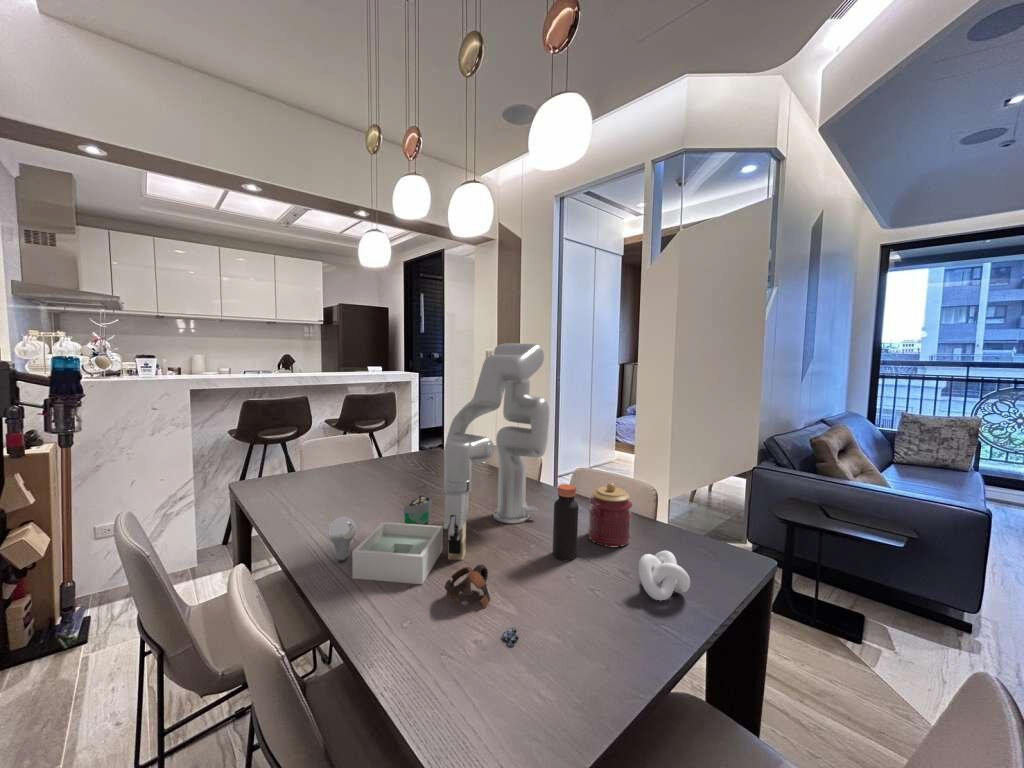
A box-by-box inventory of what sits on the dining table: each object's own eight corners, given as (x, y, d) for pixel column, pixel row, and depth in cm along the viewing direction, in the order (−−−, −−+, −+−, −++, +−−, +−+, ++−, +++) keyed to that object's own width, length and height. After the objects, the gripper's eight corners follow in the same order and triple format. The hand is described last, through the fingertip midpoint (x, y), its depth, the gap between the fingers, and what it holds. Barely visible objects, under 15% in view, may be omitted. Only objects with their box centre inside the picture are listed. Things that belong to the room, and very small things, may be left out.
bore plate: (438, 547, 119) (438, 537, 119) (420, 577, 104) (420, 566, 103) (384, 543, 121) (384, 533, 121) (358, 572, 105) (358, 561, 105)
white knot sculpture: (629, 577, 108) (631, 543, 107) (676, 578, 108) (678, 545, 107) (641, 603, 97) (643, 566, 96) (693, 605, 97) (696, 568, 96)
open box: (442, 549, 120) (442, 526, 120) (422, 584, 103) (422, 556, 102) (382, 545, 122) (382, 521, 122) (352, 578, 104) (352, 551, 104)
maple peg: (465, 553, 119) (465, 519, 118) (462, 560, 115) (462, 525, 114) (451, 552, 119) (452, 518, 118) (448, 559, 115) (448, 524, 114)
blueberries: (528, 629, 88) (528, 620, 88) (531, 654, 80) (531, 644, 80) (496, 630, 88) (496, 621, 88) (496, 654, 80) (496, 644, 80)
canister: (638, 538, 130) (640, 483, 129) (617, 552, 121) (620, 493, 119) (601, 526, 139) (603, 474, 138) (579, 538, 130) (581, 482, 128)
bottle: (562, 547, 123) (564, 481, 122) (581, 555, 119) (583, 487, 117) (547, 554, 119) (549, 486, 117) (566, 564, 114) (569, 492, 112)
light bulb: (361, 556, 115) (361, 514, 114) (343, 569, 109) (343, 524, 108) (341, 552, 117) (340, 510, 116) (322, 564, 111) (321, 520, 110)
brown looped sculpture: (482, 620, 90) (463, 588, 90) (451, 624, 95) (433, 594, 94) (504, 579, 101) (487, 551, 100) (476, 585, 106) (459, 558, 105)
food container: (422, 540, 126) (422, 508, 125) (403, 538, 127) (403, 506, 126) (437, 524, 138) (437, 494, 137) (420, 522, 139) (420, 493, 138)
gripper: (452, 475, 124) (451, 534, 125) (435, 494, 107) (435, 562, 109) (477, 476, 123) (476, 536, 125) (464, 496, 106) (463, 565, 108)
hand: (457, 547), depth 117 cm, fingers open, 4 cm apart
